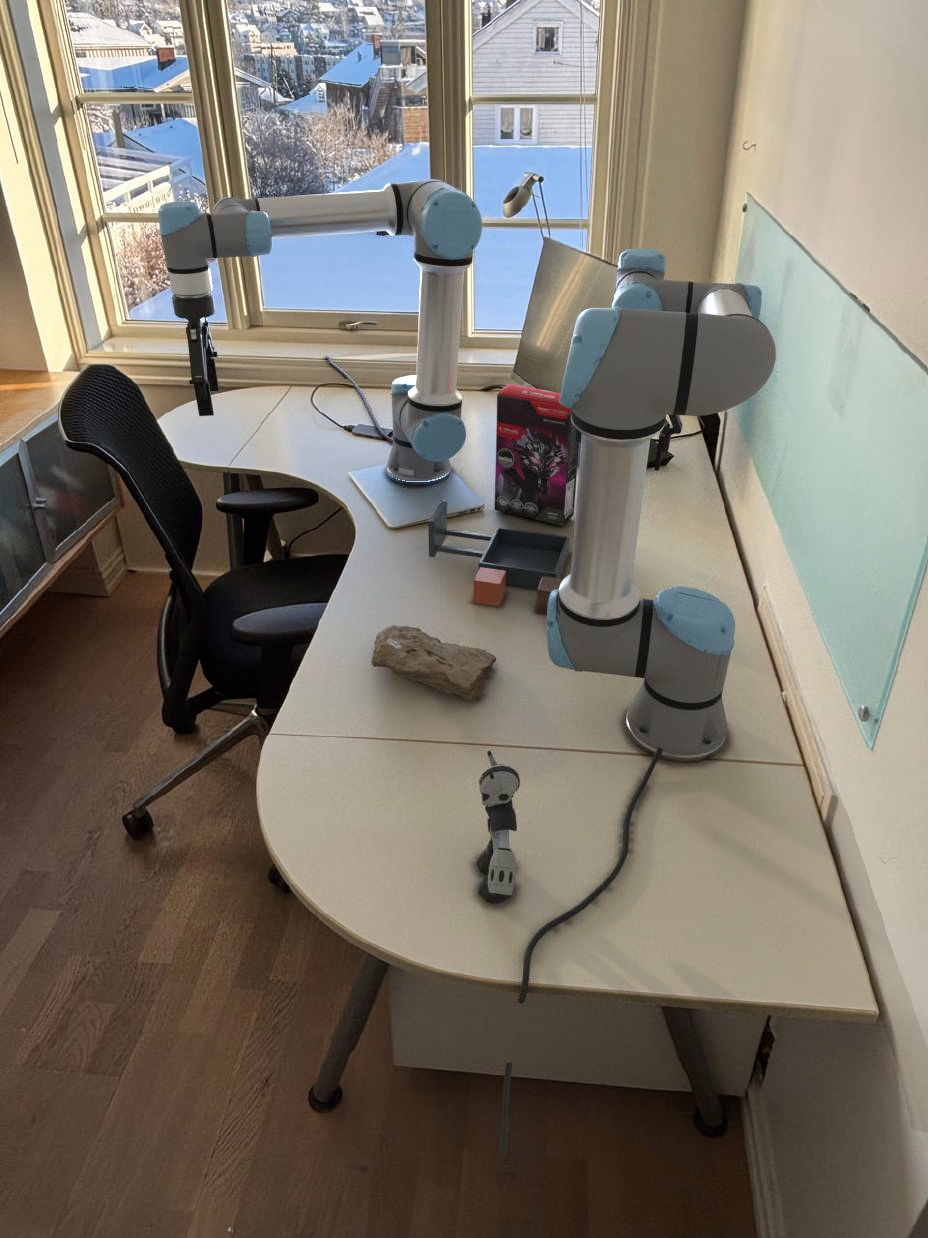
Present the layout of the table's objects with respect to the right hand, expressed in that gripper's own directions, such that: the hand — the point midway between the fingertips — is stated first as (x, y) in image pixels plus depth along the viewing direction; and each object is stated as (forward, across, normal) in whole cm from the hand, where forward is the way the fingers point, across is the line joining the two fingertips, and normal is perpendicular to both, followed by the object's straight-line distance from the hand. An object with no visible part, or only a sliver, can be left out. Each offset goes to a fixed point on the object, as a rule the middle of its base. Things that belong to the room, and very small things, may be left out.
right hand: (619, 463), depth 168 cm
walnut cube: (+24, +8, +14) cm, 29 cm away
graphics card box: (+24, +20, -22) cm, 38 cm away
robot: (+24, +2, +79) cm, 83 cm away
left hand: (-3, +82, +2) cm, 82 cm away
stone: (+24, +24, +41) cm, 53 cm away
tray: (+24, +22, +2) cm, 33 cm away
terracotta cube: (+24, +20, +14) cm, 35 cm away
